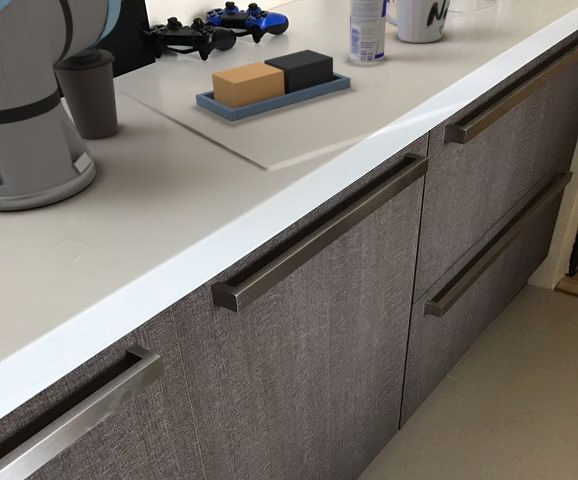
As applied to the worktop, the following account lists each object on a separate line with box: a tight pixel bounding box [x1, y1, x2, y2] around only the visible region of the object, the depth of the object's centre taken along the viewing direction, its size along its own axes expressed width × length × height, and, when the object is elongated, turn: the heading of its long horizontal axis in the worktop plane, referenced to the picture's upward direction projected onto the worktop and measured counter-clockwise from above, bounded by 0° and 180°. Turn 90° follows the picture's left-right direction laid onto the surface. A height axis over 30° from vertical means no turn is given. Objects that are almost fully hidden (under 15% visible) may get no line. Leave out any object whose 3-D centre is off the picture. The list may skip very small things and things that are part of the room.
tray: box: [195, 71, 352, 122], centre depth 96 cm, size 21×10×2 cm, turn 126°
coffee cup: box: [53, 46, 119, 140], centre depth 86 cm, size 8×8×10 cm
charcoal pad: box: [263, 49, 334, 94], centre depth 97 cm, size 8×6×4 cm
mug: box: [386, 0, 451, 44], centre depth 116 cm, size 10×15×10 cm
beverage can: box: [349, 0, 388, 63], centre depth 104 cm, size 6×6×15 cm
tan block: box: [211, 61, 285, 109], centre depth 93 cm, size 8×6×4 cm
